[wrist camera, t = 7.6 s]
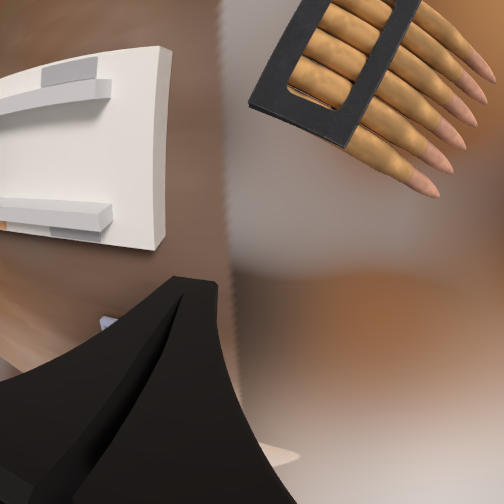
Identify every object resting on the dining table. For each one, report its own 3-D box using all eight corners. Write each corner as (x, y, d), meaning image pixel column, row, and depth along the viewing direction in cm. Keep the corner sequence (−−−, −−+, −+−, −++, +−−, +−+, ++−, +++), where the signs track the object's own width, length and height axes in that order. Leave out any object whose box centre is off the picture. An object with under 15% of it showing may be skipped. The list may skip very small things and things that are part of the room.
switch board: (165, 235, 18) (144, 264, 15) (-14, 216, 19) (-41, 233, 15) (172, 51, 13) (147, 40, 10) (-24, 92, 13) (-55, 99, 10)
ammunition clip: (247, 105, 14) (424, 204, 17) (245, 105, 13) (438, 216, 15) (330, -45, 10) (490, 72, 12) (338, -58, 8) (508, 72, 10)
